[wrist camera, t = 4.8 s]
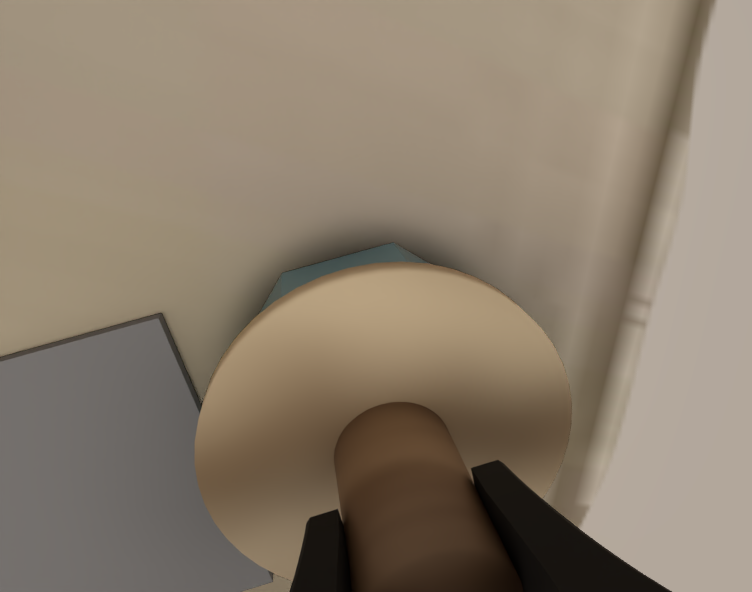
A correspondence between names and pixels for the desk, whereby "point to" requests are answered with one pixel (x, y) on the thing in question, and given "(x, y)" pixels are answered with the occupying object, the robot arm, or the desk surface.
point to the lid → (382, 425)
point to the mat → (107, 471)
